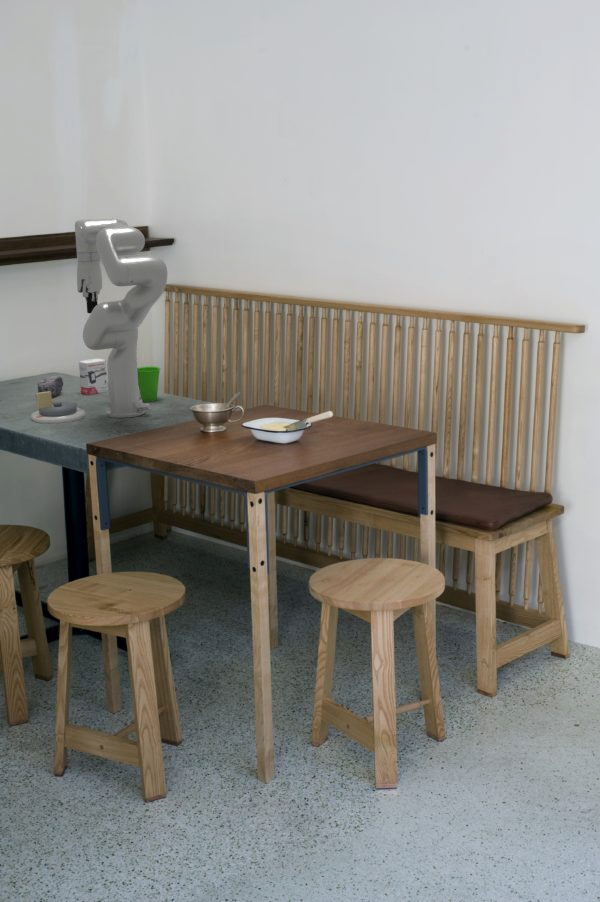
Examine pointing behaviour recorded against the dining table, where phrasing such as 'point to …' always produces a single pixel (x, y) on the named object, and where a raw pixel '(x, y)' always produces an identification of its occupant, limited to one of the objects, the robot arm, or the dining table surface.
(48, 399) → the dial
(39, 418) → the plate
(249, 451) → the dining table surface
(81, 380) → the ink box
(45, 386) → the pumice stone
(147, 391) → the cup
